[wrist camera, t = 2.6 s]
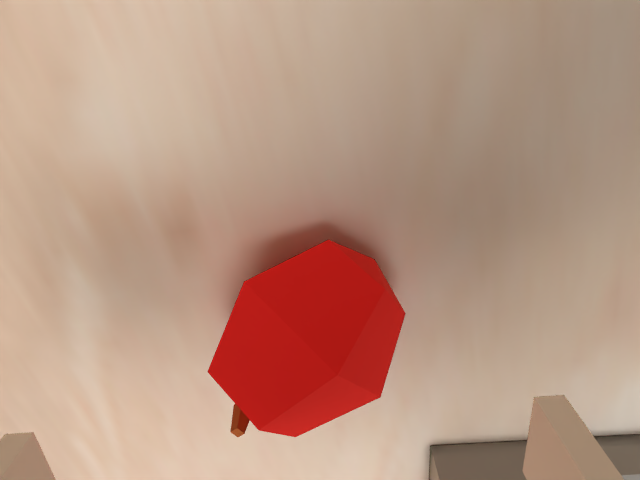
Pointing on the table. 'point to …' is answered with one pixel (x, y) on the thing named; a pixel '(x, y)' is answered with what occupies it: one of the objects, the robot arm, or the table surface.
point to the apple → (308, 341)
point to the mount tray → (519, 459)
